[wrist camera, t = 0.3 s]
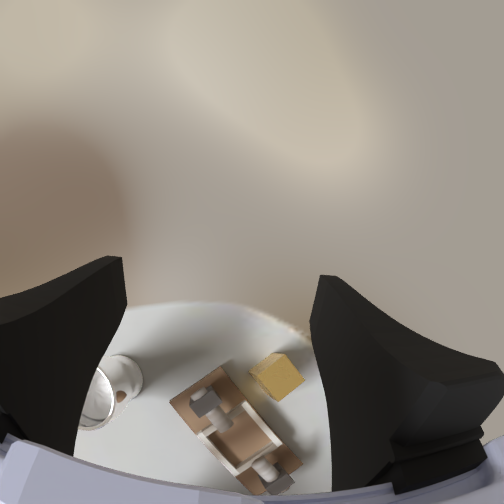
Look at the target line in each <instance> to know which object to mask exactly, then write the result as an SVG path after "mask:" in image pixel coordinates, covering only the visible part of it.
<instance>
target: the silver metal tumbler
mask: <svg viewBox="0 0 504 504" xmlns="http://www.w3.org/2000/svg"><path fill="white" fill-rule="evenodd" d="M142 385H143V376H142V372H141V370H140V368H139V366H138V365H137V364H136V363H135V362H134V361H133V360H132V359H130V358H128V357H126V356H122V355H115V356H111V357H109V356H106V355H104V356H103V357H102V359H101V361H100V363H99V365H98V367H97V369H96V372H95V374H94V376H93V379H92V381H91V384H90V387H89V390H88V393H87V396H86V400H85V403H84V407H83V410H82V414H81V418H80V422H79V426H78V429H80V430H86V431H91V430H97V429H99V428H102V427H103V426H105V425H106V424H108V423H110V422H112V421H113V420H115V419H116V418H117V417H119V416H120V415H121V414H122V413H123V412H124V410H125V409H126V408H127V406H128V404H129V402H130V399H132V398H134V397H136V396H137V395H138V393H139V392H140V390H141V388H142Z"/></svg>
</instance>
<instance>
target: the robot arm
mask: <svg viewBox="0 0 504 504" xmlns="http://www.w3.org/2000/svg"><path fill="white" fill-rule="evenodd" d="M126 306H127V297H126V290H125V281H124V272H123V263H122V257H116V256H105V257H102V258H99V259H97V260H94V261H92V262H90V263H88V264H86V265H83V266H81V267H79V268H77V269H75V270H73V271H71V272H69V273H67V274H65V275H62V276H60V277H58V278H56V279H54V280H51V281H49V282H47V283H45V284H42V285H40V286H37V287H34V288H32V289H29V290H26V291H23V292H20V293H17V294H13V295H10V296H6V297H2V298H0V504H504V435H502V436H500V437H498V438H496V439H493V440H491V441H489V442H488V443H486V444H485V445H484V446H482V444H481V442H480V440H479V439H480V438H482V436H483V435H484V432H483V430H482V428H481V426H480V425H481V424H482V423H483V422H484V420H486V418H487V417H488V416H489V415H490V414H491V412H492V411H493V410H494V409H495V407H496V406H497V405H498V404H499V402H500V401H501V399H502V398H503V396H504V374H503V372H502V371H501V370H500V368H499V367H498V365H497V364H496V363H495V362H493V361H489V360H486V359H482V358H478V357H474V356H470V355H467V354H464V353H461V352H459V351H456V350H453V349H450V348H447V347H445V346H442V345H440V344H438V343H436V342H434V341H432V340H430V339H428V338H425V337H423V336H421V335H420V334H418V333H416V332H414V331H412V330H410V329H409V328H407V327H405V326H404V325H402V324H400V323H399V322H397V321H396V320H394V319H393V318H391V317H390V316H388V315H387V314H386V313H384V312H383V311H381V310H380V309H378V308H377V307H376V306H375V305H373V304H372V303H371V302H369V301H368V300H367V299H366V298H364V297H363V296H362V295H361V294H359V293H358V292H357V291H356V290H354V289H353V288H352V287H351V286H349V285H348V284H347V283H346V282H344V281H343V280H342V279H340V278H339V277H337V276H330V275H320V278H319V282H318V287H317V291H316V296H315V300H314V304H313V309H312V313H311V317H310V331H311V339H312V345H313V349H314V353H315V357H316V361H317V365H318V368H319V372H320V376H321V380H322V384H323V387H324V391H325V396H326V401H327V409H328V418H329V427H330V440H331V458H332V492H326V493H315V494H300V495H243V494H240V493H237V492H231V491H224V490H218V489H212V488H206V487H201V486H193V485H186V484H179V483H173V482H167V481H161V480H156V479H151V478H146V477H142V476H137V475H133V474H129V473H125V472H121V471H117V470H113V469H110V468H106V467H103V466H99V465H96V464H93V463H90V462H87V461H84V460H81V459H78V458H75V457H73V454H74V447H75V441H76V436H77V431H78V426H79V422H80V418H81V414H82V410H83V407H84V403H85V400H86V396H87V393H88V390H89V387H90V384H91V381H92V379H93V376H94V374H95V372H96V369H97V367H98V365H99V363H100V361H101V359H102V357H103V356H104V354H105V352H106V350H107V348H108V346H109V344H110V342H111V340H112V339H113V337H114V335H115V333H116V331H117V329H118V327H119V325H120V323H121V320H122V318H123V315H124V312H125V309H126Z"/></svg>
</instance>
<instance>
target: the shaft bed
mask: <svg viewBox="0 0 504 504" xmlns="http://www.w3.org/2000/svg"><path fill="white" fill-rule="evenodd" d="M169 403H170V404H171V405H172V406H173V408H174V409H175V410H176V411H177V413H178V414H179V415H180V416H181V418H182V419H183V420H184V421H185V423H186V424H187V425H188V426H189V427H190V428H191V430H192V431H193V432H194V433H195V434H196V436H197V437H198V438H199V439H200V440H201V442H202V443H203V444H204V445H205V446H206V447H207V448H208V449H209V450H210V452H211V453H212V454H213V455H214V456H215V457H216V458H217V459H218V460H219V461H220V462H221V463H222V464H223V465H224V466H225V467H226V468H227V470H228V471H229V472H230V473H231V474H232V475H233V476H234V477H236V478H237V479H238V480H239V481H240V482H241V483H242V484H243V485H244V486H245V487H246V488H247V489H248V490H249V491H250V492H251V493H252V494H253V495H260V494H262V493H263V492H265V491H266V490H267V491H268V492H269V493H270V494H271V495H278V494H279V493H283V492H285V491H287V490H288V489H289V487H290V485H292V484H293V483H295V482H294V481H293V479H292V478H291V477H290V476H289V474H291V473H292V472H293V471H295V470H296V469H297V468H299V467H300V466H301V465H303V463H302V462H301V461H300V460H299V459H298V458H297V457H296V455H295V454H294V453H293V452H292V451H291V450H290V449H289V448H288V447H287V446H286V445H285V443H284V442H283V441H282V440H281V439H280V438H279V437H278V436H277V434H276V433H275V432H274V431H273V430H272V429H271V428H270V426H269V425H268V424H267V423H266V422H265V421H264V419H263V418H262V417H261V416H260V415H259V414H258V412H257V411H256V410H255V409H254V408H253V406H252V405H251V404H250V403H249V402H248V400H247V399H246V398H245V397H244V395H243V394H242V393H241V392H240V390H239V389H238V388H237V387H236V385H235V384H234V383H233V382H232V380H231V379H230V378H229V377H228V375H227V374H226V373H225V371H224V370H223V369H222V368H221V366H219V367H218V368H216V369H215V370H214V371H212V372H211V373H209V374H208V375H206V376H205V377H204V378H202V379H201V380H199V381H198V382H196V383H195V384H193V385H192V386H191V387H189V388H188V389H186V390H185V391H183V392H182V393H180V394H179V395H177V396H176V397H174V398H173V399H171V400H170V402H169Z"/></svg>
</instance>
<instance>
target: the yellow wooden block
mask: <svg viewBox="0 0 504 504" xmlns="http://www.w3.org/2000/svg"><path fill="white" fill-rule="evenodd" d="M248 372H249V373H250V374H251V375H252V377H253V378H254V379H255V380H256V382H257V383H258V384H259V386H260V387H261V388H262V389H263V390H264V392H265V393H266V394H267V395H268V396H270V397H271V398H273V399H274V400H276V401H277V402H279V401H280V400H281V399H283V398H284V397H285V396H286V395H288V394H289V393H290V392H291V391H293V390H294V389H295V388H296V387H298V386H299V385H300V384H301V383H302V382H304V381H305V379H304V378H303V377H302V376H301V374H300V373H299V372H298V370H297V369H296V368H295V367H294V365H293V364H292V363H291V361H290V360H289V359H288V357H287V356H286V355H285V354H278V353H272V354H270V355H269V356H268V357H267V358H265V359H264V360H263V361H261V362H260V363H259V364H257V365H256V366H255V367H253V368H252V369H251V370H249V371H248Z"/></svg>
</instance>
